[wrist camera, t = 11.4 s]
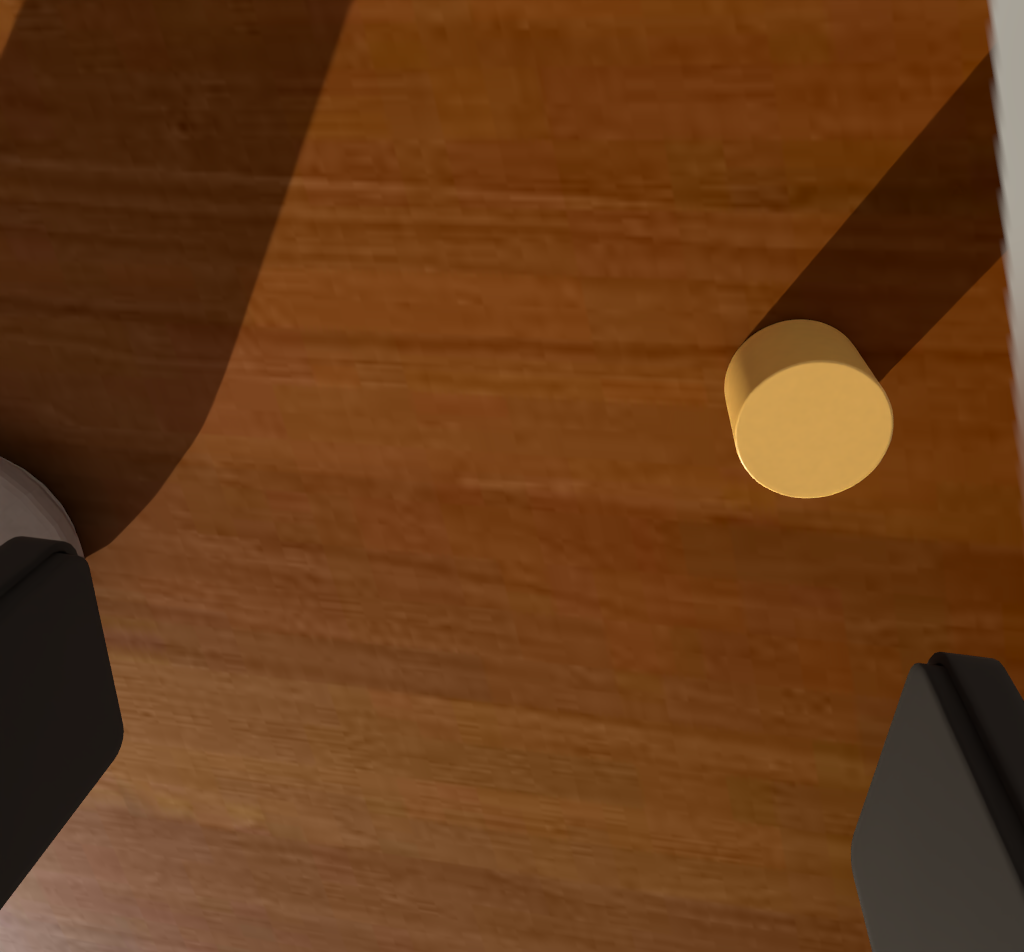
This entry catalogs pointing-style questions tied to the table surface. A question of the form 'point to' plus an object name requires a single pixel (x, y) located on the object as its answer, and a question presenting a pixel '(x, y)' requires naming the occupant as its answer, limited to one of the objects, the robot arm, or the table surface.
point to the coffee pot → (31, 509)
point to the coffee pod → (806, 410)
